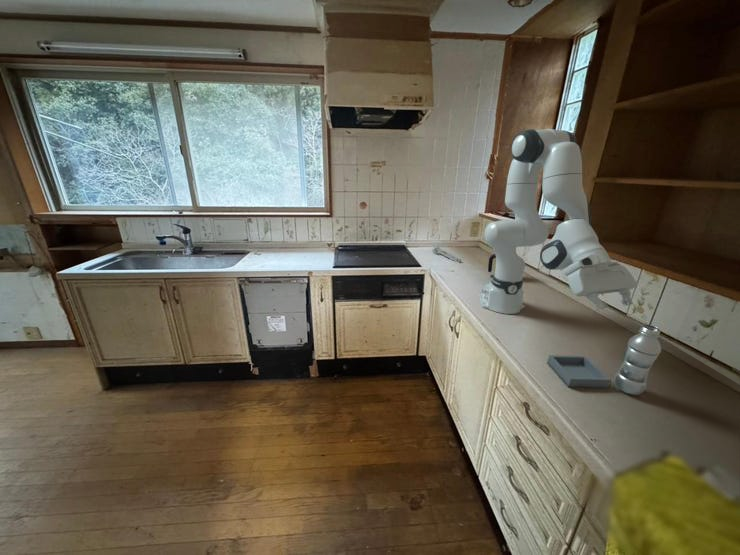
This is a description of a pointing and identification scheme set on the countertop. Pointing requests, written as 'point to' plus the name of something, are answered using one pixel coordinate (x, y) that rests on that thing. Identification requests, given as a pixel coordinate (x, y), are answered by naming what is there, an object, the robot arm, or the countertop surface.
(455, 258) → the wrench
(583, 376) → the holder
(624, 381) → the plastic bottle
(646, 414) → the countertop surface
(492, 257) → the milk frother
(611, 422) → the countertop surface
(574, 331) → the countertop surface
